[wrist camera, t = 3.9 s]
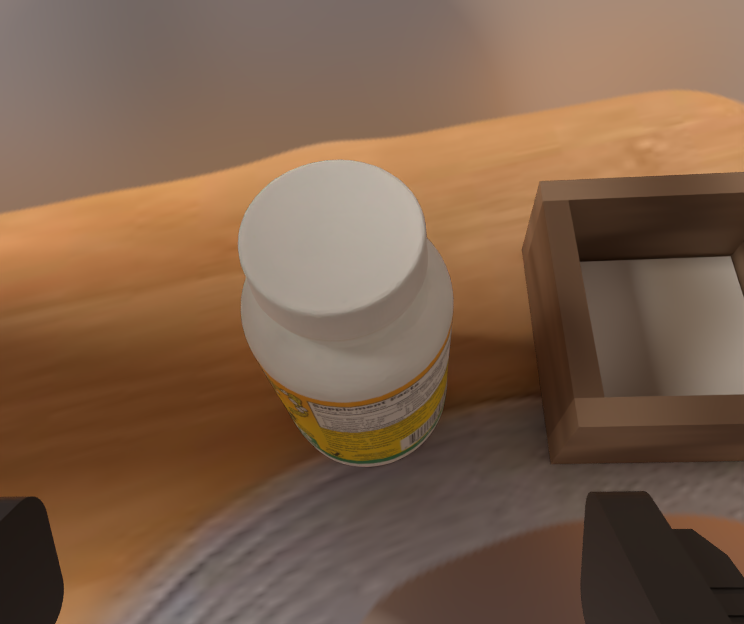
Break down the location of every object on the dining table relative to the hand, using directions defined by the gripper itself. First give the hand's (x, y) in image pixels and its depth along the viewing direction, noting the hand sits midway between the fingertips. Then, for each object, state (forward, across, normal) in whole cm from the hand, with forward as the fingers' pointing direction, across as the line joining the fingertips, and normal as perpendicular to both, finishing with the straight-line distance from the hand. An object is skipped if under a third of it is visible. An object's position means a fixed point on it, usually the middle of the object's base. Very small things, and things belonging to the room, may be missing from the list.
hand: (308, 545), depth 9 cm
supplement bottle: (+12, 0, +3) cm, 12 cm away
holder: (+13, -10, +2) cm, 17 cm away
